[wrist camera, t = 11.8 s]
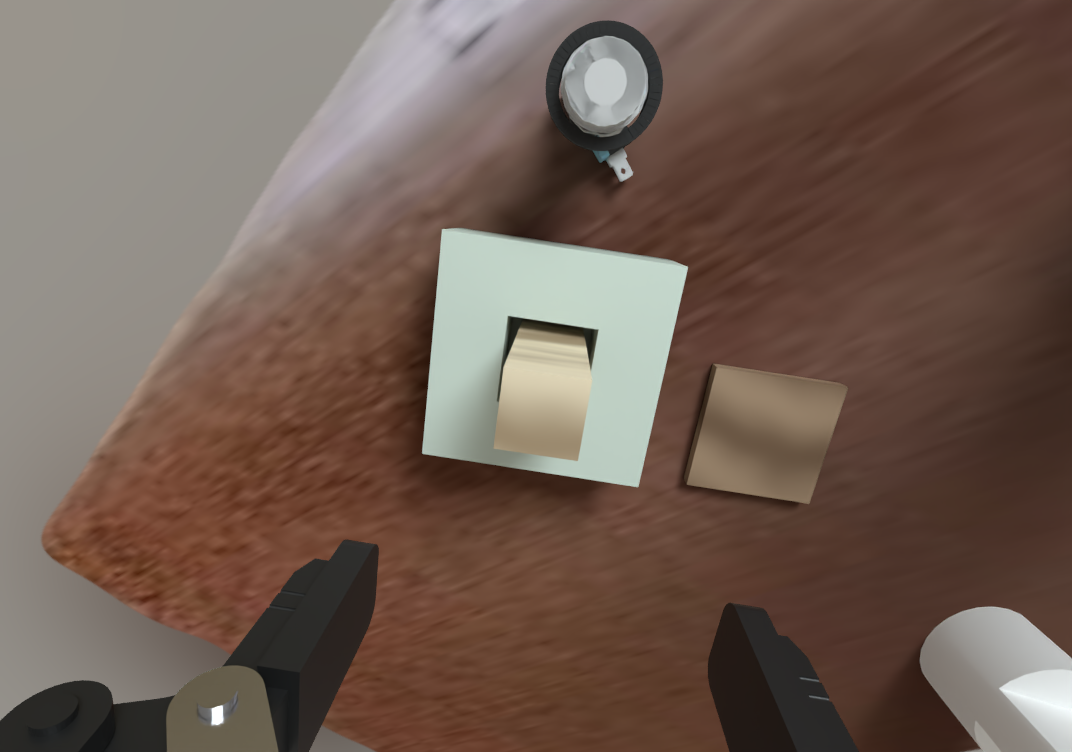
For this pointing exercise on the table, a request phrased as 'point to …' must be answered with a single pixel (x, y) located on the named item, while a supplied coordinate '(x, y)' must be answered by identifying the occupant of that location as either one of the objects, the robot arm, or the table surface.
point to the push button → (604, 89)
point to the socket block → (559, 297)
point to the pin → (544, 391)
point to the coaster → (763, 433)
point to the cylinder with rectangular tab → (1002, 680)
